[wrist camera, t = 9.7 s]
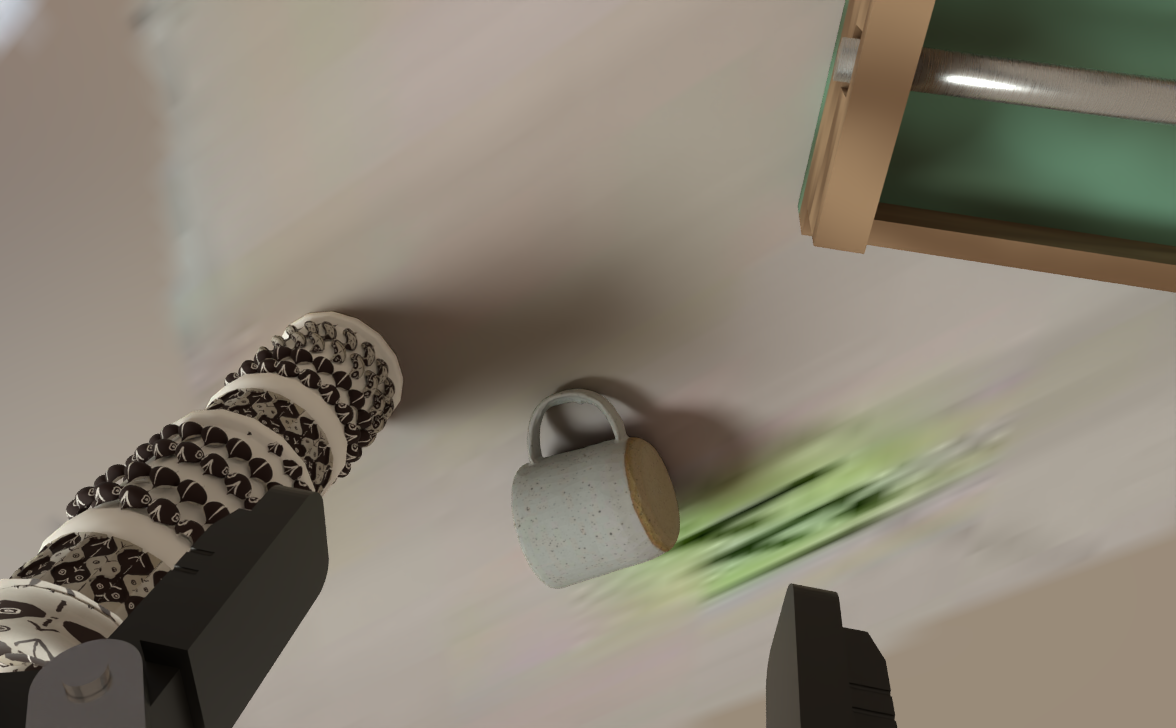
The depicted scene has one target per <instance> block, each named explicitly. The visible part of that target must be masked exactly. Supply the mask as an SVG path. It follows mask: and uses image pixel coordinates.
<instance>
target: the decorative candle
mask: <svg viewBox="0 0 1176 728" xmlns="http://www.w3.org/2000/svg"><path fill="white" fill-rule="evenodd" d="M272 344H273V345H274V349H273V350H272V351H270V350H268V349H267V348H266V347H260V348H259V349H258V353H257V354H256V355H255V357H254V361H251V360H246V361H245V362H243V364H242V365H241V367H240V368H239V371H238V373H230V374H229V375H228V376H227V377H226V379H225V387H223V388H222V389H221V390H220V391H219V392H217V393H216V394H215V395H214V396H213V397H212V398H211V399H210V401H209V403H208V405H207V407H206V409H204V410H200V411H193V412H191V413H189V414H188V415H186V416H184V417H183V418H181V419H179V420H177V421H176V422H174V423H172V424H169V425H166V426H165V427H164V428H162V430H161V432H160V434H155V435H153V436H152V437H151V439H150V441H149V443H146V444H142V445H140V446H139V447H138V448H137V449H136V451H135V454H134V455H132V456H130V457H129V458H128V459H127V461H126V463H125V466H124V465H120V464H119V465H118V464H117V465H113V466H111V467H110V468H108V469H107V471H106V473H105V475H101V476H99V477H98V478H97V479H96V481H95V482H94V487H85V488H83V489H81V490H80V491H78V493H77V494H76V497H75V500H73V501H72V502H70V503H69V504H68V506H67V508H66V514H67V517H68V519H69V520H68V521H67V522H65V523H64V524H63V525H62V526H61V527H60V528H58V529H57V530H56V531H55V532H54V533H53V534H51V535H50V536H49V537H48V538H47V539H46V540H44V541H43V544H42V546H41V548H40V551H39V553H38V555H37V556H36V557H34V558H33V559H31V560H30V561H29V562H27V563H25V564H24V565H23V566H22V567H20V568H19V569H18V570H16V571H15V572H14V573H13V575H12V576H11V577H10V578H9V579H1V580H0V673H4V672H18V671H32V670H41V669H42V668H43V667H44V666H45V665H46V664H47V663H48V662H49V661H50V660H51V659H53V658H54V657H56V656H57V655H59V654H60V653H62V652H64V651H66V650H67V649H69V648H72V647H74V646H76V645H79V644H82V643H85V642H88V641H93V640H99V639H107V638H108V637H109V636H110V635H111V634H112V633H113V632H114V631H115V630H116V629H117V628H118V627H119V625H120V624H121V623H122V622H123V621H124V620H125V619H126V618H127V617H128V616H129V614H130V613H131V612H132V611H133V610H134V609H135V608H136V607H137V606H138V605H139V603H140V602H141V601H142V600H143V599H144V598H145V597H146V596H147V595H148V594H149V592H150V591H151V590H152V589H153V588H154V587H155V586H156V585H157V584H158V583H159V581H160V580H161V579H162V578H163V577H164V576H165V575H166V574H167V573H168V572H169V570H173V569H174V565H175V564H176V563H177V562H178V561H179V559H180V558H181V557H182V556H183V555H184V554H185V553H186V552H189V551H190V549H191V546H192V545H193V544H194V543H195V542H196V541H197V540H198V539H199V537H200V536H201V535H202V534H203V533H204V532H205V531H206V530H207V529H208V528H209V526H210V525H212V524H214V523H215V522H217V521H219V520H220V519H222V518H224V517H225V516H227V515H229V514H230V513H232V512H234V511H235V510H237V509H239V508H240V509H245V510H252V509H253V507H254V506H255V505H256V504H257V503H258V502H259V501H260V499H261V498H262V497H263V496H264V495H265V494H266V492H267V491H268V490H269V489H270V488H271V487H273V486H275V485H282V486H287V487H292V488H298V489H303V490H308V491H313V492H318V493H319V494H320V495H321V496H323V495H324V494H325V493H326V491H327V490H328V489H329V487H330V486H331V485H332V484H334V483H335V481H336V480H337V477H342V478H343V477H345V476H347V475H348V474H349V472H350V470H351V464H350V463H351V462H355V461H357V460H359V459H360V457H361V455H362V449H361V448H362V447H368V446H369V445H370V444H372V443H373V441H374V440H375V438H376V435H377V433H378V432H380V431H381V430H382V429H383V428H384V426H385V424H386V421H387V419H388V418H389V417H390V416H391V415H392V413H393V411H394V409H395V408H396V406H397V405H398V404H399V402H400V401H401V395H402V386H403V376H402V373H401V369H400V366H399V363H398V359H397V356H396V355H395V353H394V352H393V351H392V349H391V348H390V347H389V345H388V344H387V343H386V341H385V340H384V339H383V337H382V336H381V335H380V334H379V333H378V332H376V331H375V330H373V329H372V328H370V327H369V326H368V325H366V324H365V323H363V322H362V321H360V320H359V319H357V318H354V317H350V316H347V315H344V314H340V313H337V312H333V311H329V312H318V313H308V314H306V315H305V316H303V317H302V318H300V319H298V320H297V321H295V322H293V323H292V324H290V325H289V326H288V327H287V328H286V330H285V332H284V334H283V335H282V337H281V336H276V335H275V336H274V337H273V338H272ZM122 477H124V478H123V483H122V484H121V485H118V484H116V483H115V482H117V481H118V480H119V479H121V478H122ZM90 505H91V506H92V508H90V509H88V508H89V507H90Z"/></svg>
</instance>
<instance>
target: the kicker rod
mask: <svg viewBox="0 0 1176 728" xmlns="http://www.w3.org/2000/svg"><path fill="white" fill-rule="evenodd" d="M859 43H860V39H855V38H847V37H843V38H842V40H841V42H840V46H839V49H838V53H837V57H836V61H835V67H834V73H833V81H840V82H848V83H850V80H851V76H852V72H853V68H854V64H855V59H856V55H857V51H858V47H859ZM910 91H915V92H923V93H930V94H938V95H945V96H953V97H960V98H968V99H975V100H983V101H990V102H998V103H1005V104H1013V105H1020V106H1028V107H1035V108H1043V109H1050V110H1058V111H1065V112H1073V113H1080V114H1088V115H1095V116H1103V117H1110V118H1118V119H1125V120H1133V121H1140V122H1148V123H1155V124H1163V125H1170V126H1176V79H1169V78H1161V77H1154V76H1146V75H1138V74H1130V73H1122V72H1114V71H1106V70H1099V69H1091V68H1083V67H1075V66H1067V65H1059V64H1051V63H1043V62H1036V61H1028V60H1020V59H1012V58H1004V57H996V56H988V55H980V54H973V53H965V52H957V51H949V50H941V49H933V48H925V47H922V50H921V54H920V57H919V61H918V64H917V68H916V71H915V75H914V78H913V82H912V86H911V89H910Z"/></svg>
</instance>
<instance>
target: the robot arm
mask: <svg viewBox="0 0 1176 728" xmlns="http://www.w3.org/2000/svg"><path fill="white" fill-rule="evenodd" d="M328 562H329V558H328V547H327V536H326V526H325V516H324V506H323V499H322V496H321V495H320V494H319V493H318V492H313V491H308V490H303V489H298V488H292V487H287V486H282V485H275V486H273V487H271V488H270V489H269V490H268V491H267V492H266V494H265V495H264V496H263V497H262V498H261V499H260V501H259V502H258V503H257V504H256V505H255V506H254V507H253V509H252V510H245V509H240V508H239V509H237V510H235V511H234V512H232V513H230V514H229V515H227V516H225V517H224V518H222V519H220V520H219V521H217V522H215V523H214V524H212V525H210V526H209V528H208V529H207V530H206V531H205V532H204V533H203V534H202V535H201V536H200V537H199V539H198V540H197V541H196V542H195V543H194V544H193V545H192V546H191V549H190V551H189V552H186V553H185V554H184V555H183V556H182V557H181V558H180V559H179V561H178V562H177V563H176V564H175V565H174V569H173V570H169V572H168V573H167V574H166V575H165V576H164V577H163V578H162V579H161V580H160V581H159V583H158V584H157V585H156V586H155V587H154V588H153V589H152V590H151V591H150V592H149V594H148V595H147V596H146V597H145V598H144V599H143V600H142V601H141V602H140V603H139V605H138V606H137V607H136V608H135V609H134V610H133V611H132V612H131V613H130V614H129V616H128V617H127V618H126V619H125V620H124V621H123V622H122V623H121V624H120V625H119V627H118V628H117V629H116V630H115V631H114V632H113V633H112V634H111V635H110V636H109V637H108V638H107V639H99V640H93V641H88V642H85V643H82V644H79V645H76V646H74V647H72V648H69V649H67V650H66V651H64V652H62V653H60V654H59V655H57V656H56V657H54V658H53V659H51V660H50V661H49V662H48V663H47V664H46V665H45V666H44V667H43V668H42V669H41V670H32V671H18V672H4V673H0V728H232V727H233V725H234V724H235V722H236V721H237V719H238V718H239V716H240V715H241V713H242V712H243V710H244V709H245V707H246V706H247V704H248V703H249V701H250V699H251V698H252V696H253V695H254V693H255V692H256V690H257V689H258V687H259V686H260V684H261V683H262V681H263V680H264V678H265V676H266V675H267V673H268V672H269V670H270V669H271V667H272V666H273V664H274V663H275V661H276V660H277V658H278V657H279V655H280V654H281V652H282V650H283V649H284V647H285V646H286V644H287V643H288V641H289V640H290V638H291V637H292V635H293V634H294V632H295V631H296V629H297V628H298V626H299V624H300V623H301V621H302V620H303V618H304V617H305V615H306V614H307V612H308V611H309V609H310V608H311V606H312V605H313V603H314V602H315V600H316V598H317V597H318V595H319V594H320V592H321V590H322V587H323V585H324V582H325V579H326V575H327V571H328ZM890 691H891V690H890V684H889V678H888V672H887V666H886V661H885V659H884V657H883V656H882V654H881V653H880V651H879V649H878V648H877V646H876V645H875V643H874V642H873V640H872V638H871V637H870V635H869V634H868V632H865V631H860V630H854V629H849V628H844V627H842V619H841V611H840V602H839V597H838V594H837V593H836V592H833V591H828V590H823V589H817V588H812V587H807V586H802V585H796V584H790V585H789V586H788V589H787V592H786V595H785V599H784V603H783V606H782V610H781V613H780V617H779V621H778V624H777V628H776V632H775V635H774V639H773V643H772V646H771V650H770V655H769V661H768V668H767V679H766V728H897V724H896V721H895V720H894V718H895V712H894V707H893V701H892V697H891V696H890Z"/></svg>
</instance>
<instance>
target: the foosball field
mask: <svg viewBox="0 0 1176 728" xmlns="http://www.w3.org/2000/svg"><path fill="white" fill-rule="evenodd" d="M843 37H847V38H855V39H860V43H859V47H858V51H857V55H856V59H855V64H854V68H853V72H852V76H851V80H850V83H848V82H840V81H833V73H834V67H835V61H836V57H837V53H838V49H839V46H840V42H841V40H842V38H843ZM922 47H925V48H933V49H941V50H949V51H957V52H965V53H973V54H980V55H988V56H996V57H1004V58H1012V59H1020V60H1028V61H1036V62H1043V63H1051V64H1059V65H1067V66H1075V67H1083V68H1091V69H1099V70H1106V71H1114V72H1122V73H1130V74H1138V75H1146V76H1154V77H1161V78H1169V79H1176V0H845V5H844V9H843V13H842V18H841V22H840V26H839V31H838V35H837V39H836V43H835V48H834V52H833V56H832V61H831V65H830V69H829V74H828V78H827V82H826V87H825V91H824V95H823V99H822V104H821V108H820V112H819V117H818V121H817V125H816V130H815V134H814V138H813V142H812V147H811V151H810V155H809V160H808V164H807V168H806V173H805V177H804V181H803V186H802V190H801V194H800V198H799V203H798V211H799V218H800V226H801V233H802V235H808V236H812V239H813V245H814V246H817V247H823V248H830V249H836V250H843V251H849V252H855V253H862V254H864V252H865V249H866V245H873V246H879V247H886V248H892V249H898V250H905V251H911V252H918V253H924V254H931V255H937V256H944V257H950V258H956V259H963V260H969V261H976V262H982V263H989V264H995V265H1002V266H1008V267H1014V268H1021V269H1027V270H1034V271H1040V272H1047V273H1053V274H1060V275H1066V276H1072V277H1079V278H1085V279H1092V280H1098V281H1105V282H1111V283H1118V284H1124V285H1130V286H1137V287H1143V288H1150V289H1156V290H1163V291H1169V292H1176V126H1170V125H1163V124H1155V123H1148V122H1140V121H1133V120H1125V119H1118V118H1110V117H1103V116H1095V115H1088V114H1080V113H1073V112H1065V111H1058V110H1050V109H1043V108H1035V107H1028V106H1020V105H1013V104H1005V103H998V102H990V101H983V100H975V99H968V98H960V97H953V96H945V95H938V94H930V93H923V92H915V91H910V89H911V86H912V82H913V78H914V75H915V71H916V68H917V64H918V61H919V57H920V54H921V50H922Z"/></svg>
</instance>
